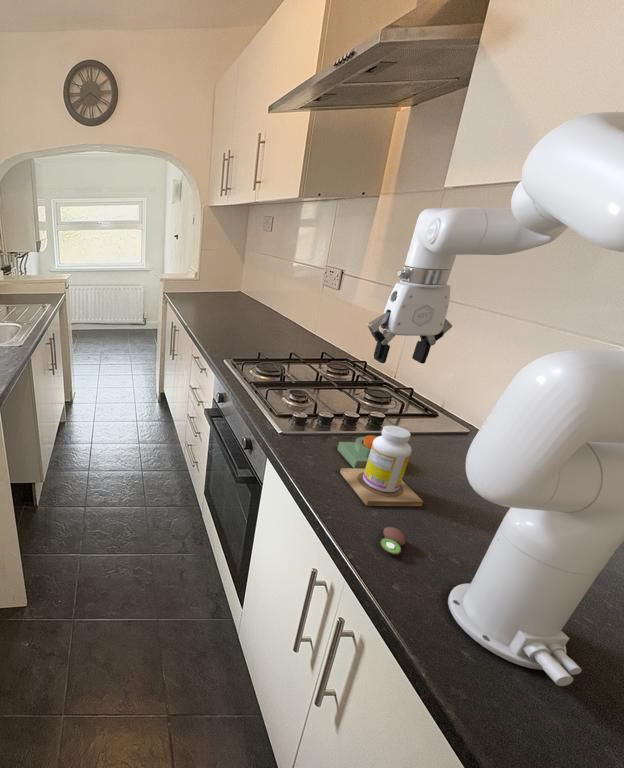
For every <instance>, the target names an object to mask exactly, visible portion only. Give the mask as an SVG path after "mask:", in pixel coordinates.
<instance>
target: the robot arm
mask: <svg viewBox="0 0 624 768" xmlns="http://www.w3.org/2000/svg"><path fill="white" fill-rule="evenodd" d="M568 228H569V229H570V230H572V231H573V232H575V234H577V235H579V236H580V237H582V238H583V239H584V240H586V241H588V242H590V243H591V244H593V245H596V246H598V247H600V248H603V249H606V250H609V251H614V252H618V253H624V111H605V112H592V113H587V114H583V115H579V116H576V117H573V118H571V119H569V120H566V121H564V122H562V123H560V124H559V125H558V126H556V127H555V128H552V130H550V131H548V132H547V133H546V134H545V135H543V137H542V138H540V139H539V141H538V142H537V143H536V144H535V145H534V147H532V148H531V150H530V152H529V153H528V154H527V157H526V159H525V161H524V163H523V166H522V169H521V178H520V181H519V182H518V184H517V185H516V186H515V188H514V189H513V192H512V194H511V200H510V207H507V206H506V207H503V206H501V207H499V206H492V207H490V206H486V207H484V206H479V207H478V206H477V207H429V208H425V209H423V210H422V211H421V212H420V213H419V215H418V218H417V220H416V223H415V227H414V230H413V234H412V238H411V241H410V244H409V248H408V251H407V255H406V258H405V262H404V265H403V268H402V270H397V271H396V278H399V281H396V283H395V285H394V287H393V289H392V290H391V291H390V295H389V297H388V299H387V301H386V304H385V307H384V310H383V313H382V314H381V315H379V316H377V317H376V318H374V319H372V320H370V321H369V322H368V323H367V328H368V329H369V331H370V334H371V336H372V337H373V338H374V341H376V345H375V348H374V352H373V359H374V360H375V361H377V362H378V363H380V364H385V363H386V362H387V359H388V355H389V351H390V348H391V345H390V344H389V343H390V342H391V341H392V340H393V339H394V338H395V337H396V336H403V337H404V336H407V337H408V336H409V337H411V336H413V337H419V338H420V340H417V342H416V344H415V346H414V350H413V354H412V357H411V358H412V360H414V361H416V362H418V363H419V364H425V363H426V361H427V359H428V356H429V353H430V351H431V347H432V346H435V345H436V343H437V341H439V340H440V339H442V338H443V337H444V336H445V334H447V332H448V331H450V330H451V329H452V328H453V324H452V323H451V322H450V321H449V320H448V319H447V315H448V310H449V304H450V299H451V285H450V284H448V281H449V278H450V275H451V272H452V269H453V267H454V263H455V260H456V258H457V256H459V255H461V256H464V255H465V256H466V255H468V256H469V255H470V256H471V255H472V256H473V255H475V256H476V255H477V256H479V255H480V256H504V255H505V256H506V255H512V254H516V253H521V252H524V251H528V250H530V249H535V248H538V247H542V246H546V245H548V244H550V243H552V242H554V241H555V240H557V239H558V238H559V237H560V236H561V235H562V234H564V232H566V231H567V229H568ZM380 328H382V329H381V331H380ZM465 472H466V473H465V474H466V478H467V480H468V483H469V485H470V487H471V488H472V489H473V491H474V492H475V493H476V494H477V495H478V496H480V497H481V498H483V499H484V500H486V501H487V502H490V503H492V504H495V505H497V506H501V507H505V508H509V509H508V510H507V512H506V513H505V515H504V517H503V519H502V520H501V523H500V525H499V527H498V528H497V530H496V532H495V534H494V536H493V538H492V540H491V542H490V544H489V546H488V548H487V550H486V552H485V554H484V556H483V558H482V560H481V562H480V564H479V566H478V568H477V571H476V572H475V575H474V576H473V578H472V580H471V582H470V583H468V582H467V583H461V584H458V585H456V586H455V587H453V588H452V589H451V591H450V593H449V595H448V597H447V605H448V609H449V611H450V614H451V616H452V617H453V619H454V620H455V622H456V623H457V624H458V625H459V626H460V628H461V629H462V630H463V631H464V632H465V634H467V635H468V636H469V637H470V638H471V639H473V640H474V641H475V642H477V643H478V644H479V645H481V647H483V648H485V649H486V650H487V651H489V652H490V653H493V654H494V655H495V656H497V657H500V658H502V659H504V660H506V661H508V662H510V663H513V664H515V665H517V666H521V667H524V668H528V669H533V670H540V671H544V673H545V674H546V675H547V676H548V677H549V678H550V680H552V682H554V683H555V685H556V686H558V687H564V686H569V685H570V684H572V683H573V682H574V677H572V676H576V675H579V674H580V673H582V671H583V670H582V668H581V667H580V666H579V665H578V664H577V663H576V662H575V661H574V659H572V658H571V657H569V656H568V654H567V646H566V645H567V643H568V642H569V641H570V637H569V636H567V634H566V633H565V632H564V631H563V628H564V627H565V625H566V624H567V622H568V621H569V619H571V617H572V615H573V613H574V612H575V610H576V609H577V608H578V606H579V604H580V603H581V601H583V598H584V597H585V595H586V594H587V593H588V591H589V590H590V588H591V586H592V585H593V583H594V582H595V581H596V579H597V577H598V576H599V574H600V573H601V572H602V571H603V570H604V568H605V566H606V565H607V564H608V562H609V561H610V559H611V558H612V557H613V554H615V553H616V551H617V550H618V549H619V547H620V546H621V545H622V543H623V542H624V346H623V347H621V348H618V349H613V350H604V349H603V350H602V349H599V350H598V349H571V350H561V351H560V350H559V351H555V352H551V353H548V354H545V355H543V356H540V357H538V358H536V359H534V360H532V361H530V362H529V363H528V364H527V365H525V366H523V367H522V369H521V370H519V371H518V372H517V373H516V375H514V377H513V378H512V379H511V381H510V383H508V385H507V386H506V388H505V390H504V391H503V393H502V394H501V396H500V397H499V398H498V400H497V402H496V404H495V405H494V406H493V408H492V410H491V411H490V413H489V414H488V415H487V417H486V419H485V420H484V422H483V423H482V425H481V427H480V428H479V429H478V431H477V433H476V435H475V436H474V438H473V439H472V442H471V443H470V445H469V448H468V450H467V453H466V458H465Z"/></svg>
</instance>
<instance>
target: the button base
mask: <svg viewBox="0 0 624 768" xmlns="http://www.w3.org/2000/svg"><path fill="white" fill-rule="evenodd" d="M364 438H365V436H360V437H357V438H356V439H355V441H339V442H338V445H337V451H338V452H339V453H340V455H341V456H343V458H344V459H345V460H346V461H347V462H348V464H350V466H351V468H360V469H365V468H366V464H367V461H368V458H369V454H370V451H371V449H370V448H368V447H366V446H364V445H363V441H364Z"/></svg>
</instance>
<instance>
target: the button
mask: <svg viewBox="0 0 624 768" xmlns="http://www.w3.org/2000/svg"><path fill="white" fill-rule="evenodd" d="M364 437H365V438H364V441H363V445H364V446H366V447H368V448H370V449H371V447H372V444H373V441H374V439H375V438H377V437H378V436H376V435H373V434H372V435H371V434H369V435H365V436H364Z"/></svg>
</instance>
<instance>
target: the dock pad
mask: <svg viewBox="0 0 624 768" xmlns="http://www.w3.org/2000/svg"><path fill="white" fill-rule="evenodd" d="M364 471H365V469H360V468H353V467H351V468H350V467H349V468H347V467H346V468H345V467H342V468H340V471H339V474H340V475H341V476H342V477H343V478H344V480H345V481H346V483H347V484H348V485H349V486H350V487H351V489H352V490H353V491H354V492H355V493H356V494H357V496H358V497H359V498H360V500H361V501H362V502H363V503H364V504H365V506H368V507H369V506H370V507H371V506H372V507H374V506H375V507H384V506H385V507H422V506H423V503H424V500H422V498H421V497H419V495H417V493H415V491H413V490H412V488H411V487H409V486H408V484H407V483H405V482H404V481H403V480H402V481H401V484H400V487H399V489H398V490H397V491H394V492H383V491H379V490H376V489H374V488H372V487H370V486H369V485H368V484H367V483H366V482H365V481H364V479H363V475H364Z"/></svg>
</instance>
